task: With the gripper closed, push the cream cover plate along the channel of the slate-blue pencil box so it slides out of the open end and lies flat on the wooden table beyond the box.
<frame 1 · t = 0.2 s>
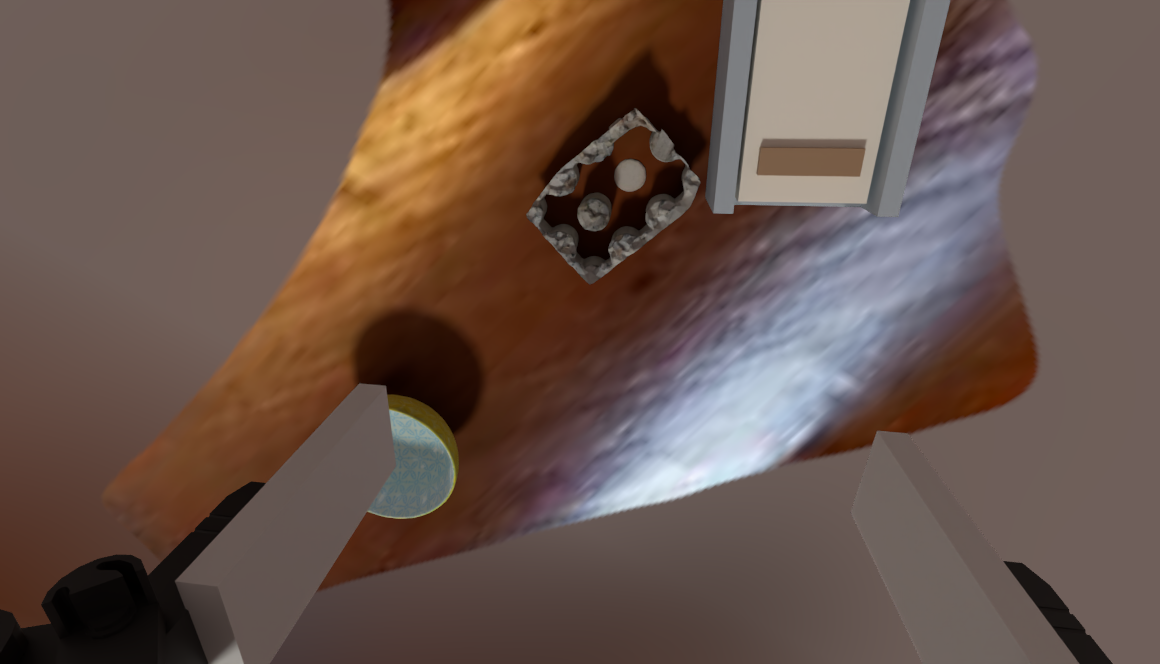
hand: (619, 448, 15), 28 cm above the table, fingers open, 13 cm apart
bowl: (415, 421, 50), on the table
lid: (816, 61, 33), point 2 cm above the table, touching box
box: (807, 54, 34), on the table
egg carton: (614, 192, 40), on the table
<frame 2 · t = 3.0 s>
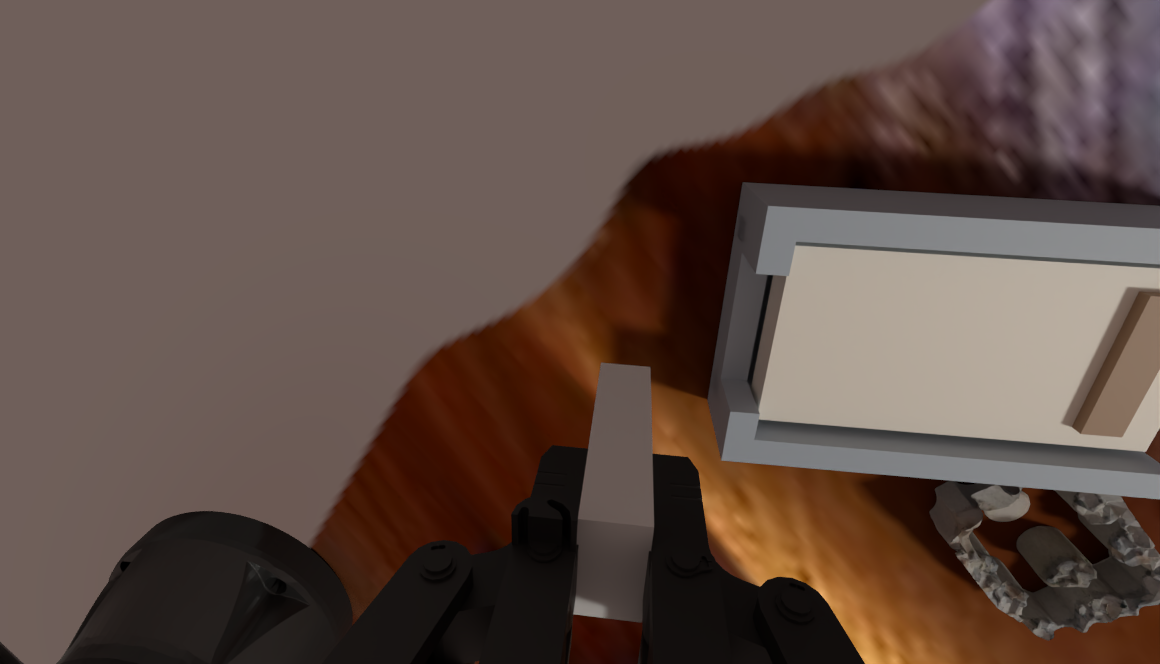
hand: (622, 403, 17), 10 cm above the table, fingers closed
lid: (954, 334, 23), point 2 cm above the table, touching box
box: (919, 314, 25), on the table
egg carton: (1020, 516, 30), on the table
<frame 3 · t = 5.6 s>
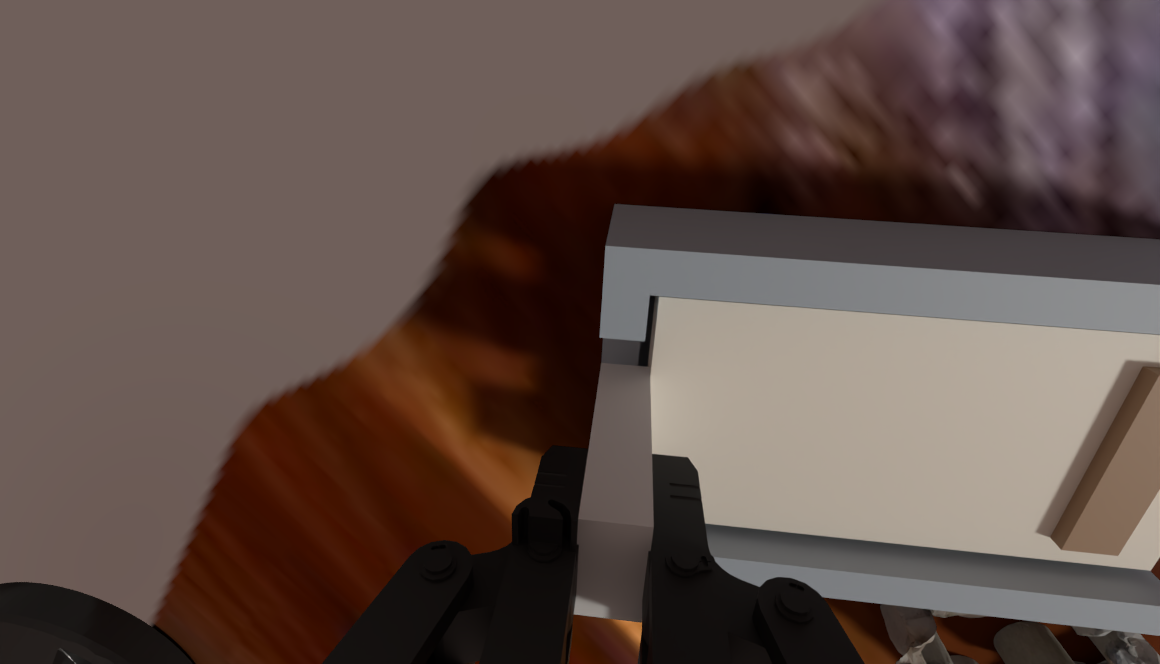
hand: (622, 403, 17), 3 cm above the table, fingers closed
lid: (895, 409, 18), point 2 cm above the table, touching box, gripper
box: (854, 374, 20), on the table
egg carton: (997, 608, 24), on the table
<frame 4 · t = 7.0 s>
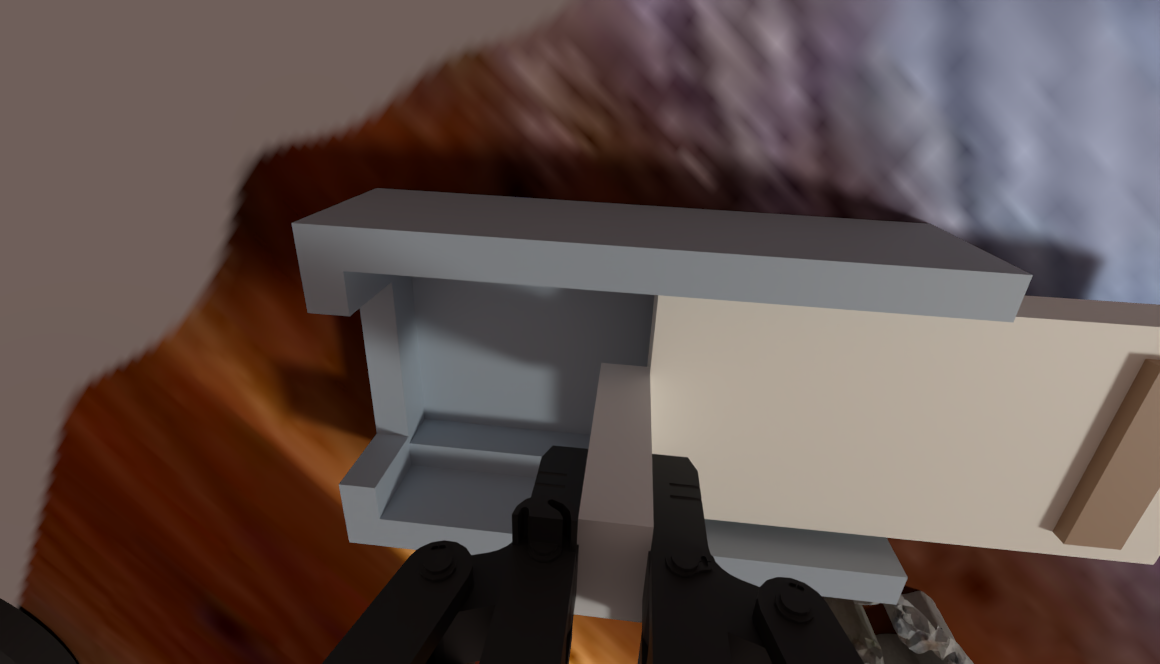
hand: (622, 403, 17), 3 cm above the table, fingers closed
lid: (896, 403, 18), point 2 cm above the table, touching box, gripper
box: (629, 354, 20), on the table
egg carton: (811, 583, 25), on the table
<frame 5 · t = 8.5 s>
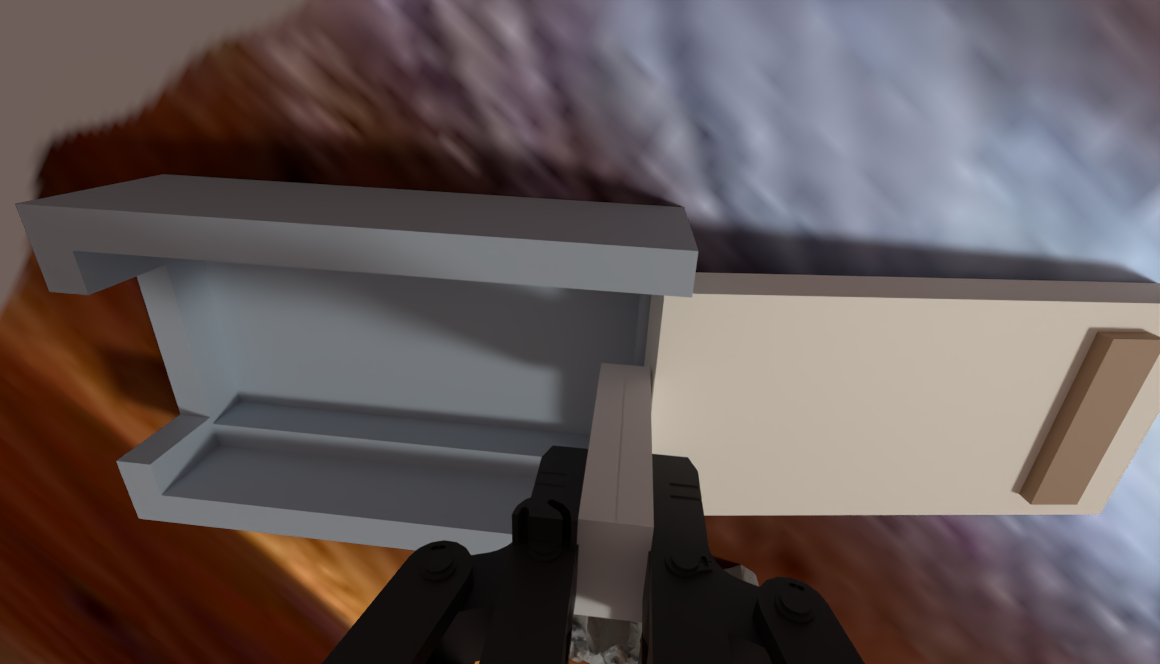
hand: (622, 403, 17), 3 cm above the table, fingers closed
lid: (878, 387, 18), point 1 cm above the table, tilted 8°, touching gripper
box: (426, 337, 21), on the table
egg carton: (641, 561, 25), on the table
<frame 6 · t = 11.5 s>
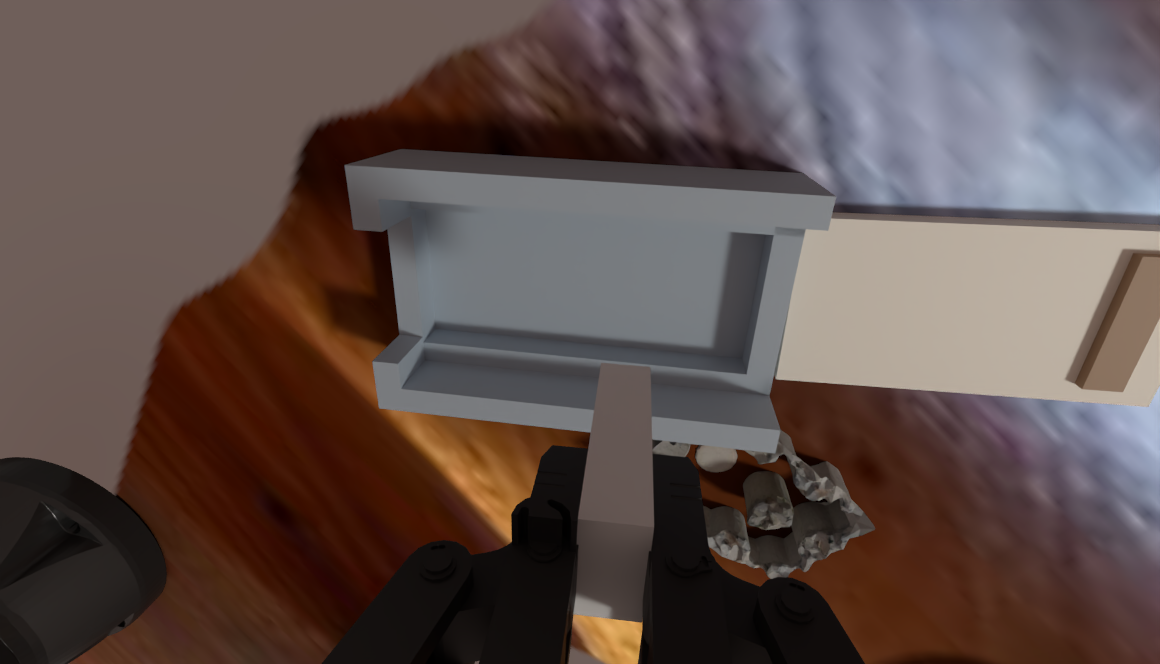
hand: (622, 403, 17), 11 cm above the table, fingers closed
lid: (961, 299, 25), on the table
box: (588, 277, 27), on the table
egg carton: (741, 464, 31), on the table
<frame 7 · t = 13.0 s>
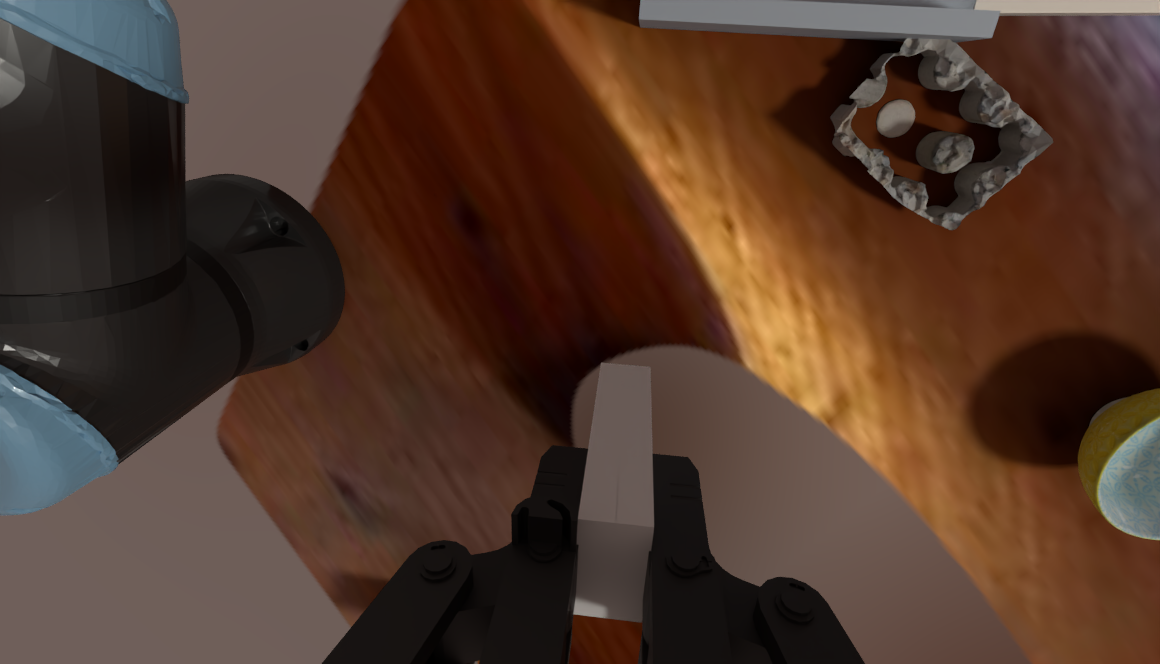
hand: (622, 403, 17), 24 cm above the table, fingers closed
bowl: (1121, 420, 41), on the table
egg carton: (914, 131, 35), on the table
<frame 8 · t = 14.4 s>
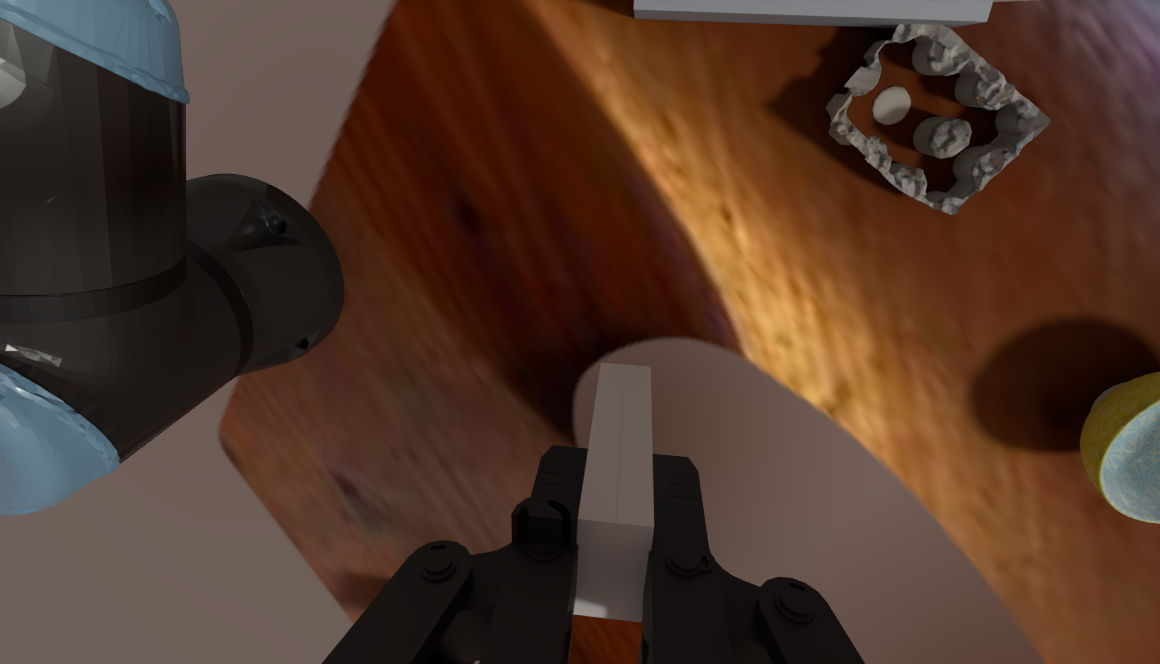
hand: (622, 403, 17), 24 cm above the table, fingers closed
bowl: (1122, 404, 41), on the table
egg carton: (910, 117, 35), on the table
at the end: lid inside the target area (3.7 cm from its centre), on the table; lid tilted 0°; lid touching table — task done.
